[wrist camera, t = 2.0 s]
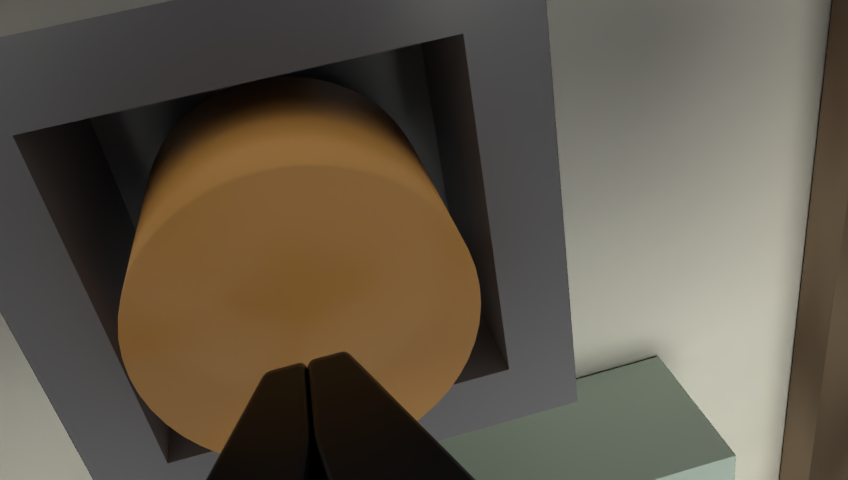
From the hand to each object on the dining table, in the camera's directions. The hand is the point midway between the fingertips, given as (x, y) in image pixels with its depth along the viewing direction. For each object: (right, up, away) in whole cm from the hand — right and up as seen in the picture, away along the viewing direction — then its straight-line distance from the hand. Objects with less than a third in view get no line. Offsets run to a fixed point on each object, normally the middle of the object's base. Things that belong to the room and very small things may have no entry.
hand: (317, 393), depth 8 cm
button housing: (-1, +3, +5) cm, 6 cm away
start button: (-1, +2, +3) cm, 4 cm away
